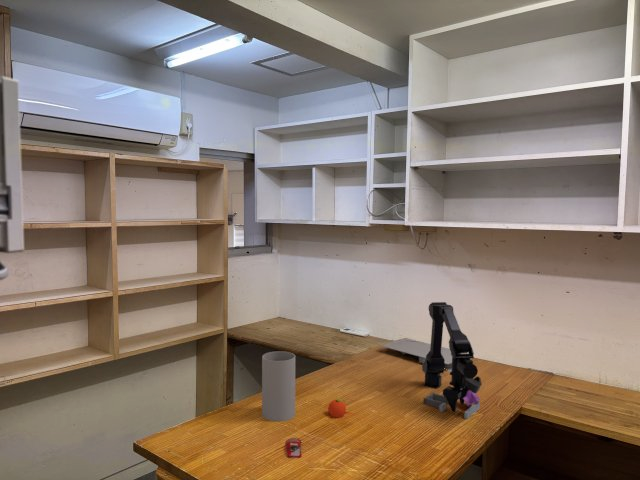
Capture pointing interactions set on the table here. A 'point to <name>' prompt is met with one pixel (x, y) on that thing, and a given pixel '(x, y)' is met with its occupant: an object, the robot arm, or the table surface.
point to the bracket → (471, 398)
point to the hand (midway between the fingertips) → (458, 407)
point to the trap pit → (432, 400)
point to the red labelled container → (293, 448)
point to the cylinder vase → (278, 386)
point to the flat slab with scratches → (419, 350)
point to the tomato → (337, 408)
